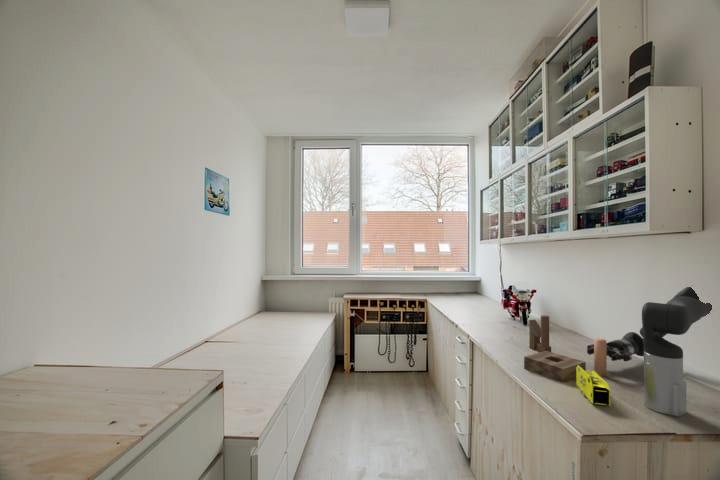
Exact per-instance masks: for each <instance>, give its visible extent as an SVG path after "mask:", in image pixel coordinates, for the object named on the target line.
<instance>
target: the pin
mask: <svg viewBox="0 0 720 480" xmlns="http://www.w3.org/2000/svg"><path fill="white" fill-rule="evenodd" d="M606 343H607V340H606V339H605V338H594V340H593V344H594V354H593V358H594V361H593V362H594V363H593V366H594V369H593V371H595V372H596V373H597V374H598V375H599V376H600V377H601V378H602V377H607V375H608V374H607V373H608V372H607V369H608V368H607V364H608V362H607V357H608V356H607V352H606Z"/></svg>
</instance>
